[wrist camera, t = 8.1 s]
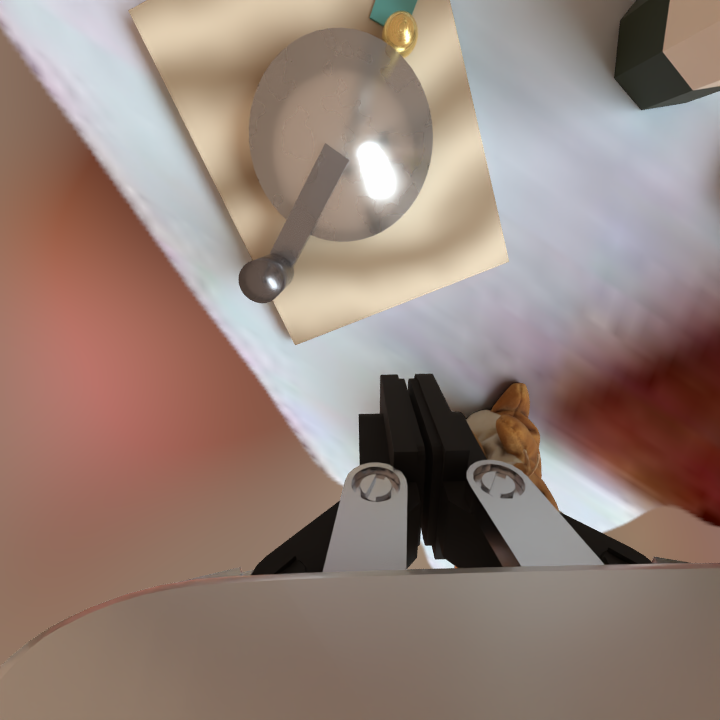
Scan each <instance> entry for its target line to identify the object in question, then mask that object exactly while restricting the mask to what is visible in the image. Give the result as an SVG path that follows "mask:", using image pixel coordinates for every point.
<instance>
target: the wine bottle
mask: <svg viewBox="0 0 720 720" xmlns="http://www.w3.org/2000/svg"><path fill="white" fill-rule="evenodd" d="M614 78H615V79H616V81H617V82H618V83H619V84H620V85H621V86H622V88H623V89H624V90H625V91H626V92H627V94H628V95H629V96H630V97H631V98H632V99H633V101H634V102H635V103H636V104H637V105H638V107H639V108H640V109H641V110H645V109H651V108H657V107H663V106H670V105H676V104H682V103H687V102H690V101H692V100H695V99H698V98H701V97H704V96H707V95H709V94H712V93H715V92H718V91H720V0H636V2H635V3H634V4H633V5H632V7H631V8H630V9H629V10H628V12H627V13H626V14H625V16H624V17H623V18H622V19H621V21H620V28H619V38H618V47H617V57H616V67H615V76H614Z"/></svg>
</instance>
